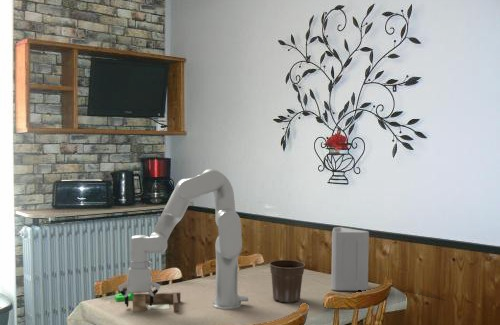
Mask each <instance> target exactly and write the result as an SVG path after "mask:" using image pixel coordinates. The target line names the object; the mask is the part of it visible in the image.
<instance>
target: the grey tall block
mask: <svg viewBox="0 0 500 325" xmlns="http://www.w3.org/2000/svg"><path fill="white" fill-rule="evenodd" d="M369 242H370V231H367V230H361V229H356V228H355V229H354V228H348V227H341V226H338V227H337V226H336V227H333V229H332V231H331V282H330V283H331V285H330V288H331V290H333V291H358V290H361V291H367V290H369V257H370V256H369V253H370V252H369V251H370V250H369V249H370V247H369V246H370V245H369V244H370V243H369Z"/></svg>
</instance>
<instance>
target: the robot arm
mask: <svg viewBox="0 0 500 325" xmlns="http://www.w3.org/2000/svg"><path fill="white" fill-rule="evenodd" d="M210 193H212V194H213V199H214V205H215V206H214V207H215V208H214V209H215V210H214V212H215V215H214V216H215V220H214V221H215V224H216V226H217V228H218V230H217V231H218V236H217V237H216V240H215V246H214V247H215V249H214V250H215V300H213V301H212V302H211V306H212V307H213V308H215V309H220V310H235V309H238V308H240V307H241V306H242V302H249V296H244V295H242V296H241V295H239V294H238V290H239V289H238V282H239V281H238V279H239V272H238V271H239V255H240V254H241V253H242V249H243V240H242V239H243V238H242V234H243V233H242V223H241V222H242V221H241V217H240V216H239V214H238V213H237V212H236V204H235V194H234V193H235V192H234V189H233V185H232V183H231V182H230V180H229V179H228V177H227V176H226V175H225V174H223V173H222V172H220V171H219V170H217V169H214V168H207V169H205V170H204V171H203V172H202V173H200V174H198V175H196V176H193V177H190V178H182V179H180V180H179V181H178V182H177V183H176V185H175V187H174V190H173V191H172V193H171V195H170V197H169V199H168V201H167V203H166V205H165V207H164V208H163V210H162V213H161V215H160V217H159V218H158V220H157V222H156V224H155V226H154V228H153V230H152V232H151V234H150V236H148V235H144V234H135V235H132V236H131V237H130V242H129V243H130V245H129V246H130V248H129V250H130V251H129V252H130V254H129V255H130V256H129V257H130V258H129V260H130V262H129V263H130V267H128V268H127V275H126V281H125V282H123V283H122V284H119V285H118V287H117V289H118V290H119V294H122V295H123V296H124V297H125V301H124V305H126V308H128V307H129V301H130V300H129V296H128V295H129V294H130V293H141V292H146V293H149V294H150V303H149V305H150V306H152V305H153V304H154V303H153V296H154V295H155V294H156V293H159V292H158V291H159V290H160V288H161V284H160V283H157V282H155V281H153V280H152V269H151V267H150V266H153V262H152V261H150V259H149V258H150V257H149V256H150V255H149V254H156V255H157V254H158V255H159V254H163V253H164V252H166V250H167V249H168V240H169V238H170V236H171V233H172V232H173V230H174V228H175V227H176V225H177V224H178V223H179V222H180V221H182V219H183V217H184V216H185V214H186V211H187V210H188V207H189V206H190V203H191V201H192V200H194V199H197V198H200V197H202V196H204V195H208V194H210ZM125 287H126V290H124V288H125ZM152 287H155V289H152Z"/></svg>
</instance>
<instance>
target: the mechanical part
mask: <svg viewBox="0 0 500 325" xmlns="http://www.w3.org/2000/svg"><path fill="white" fill-rule="evenodd" d="M128 296H129V301H133V293H130V294H129V295H128ZM114 300H115V301H116V302H125V297H124V296H123V295H122V294H121V293H116V294H115V295H114Z"/></svg>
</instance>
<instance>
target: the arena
mask: <svg viewBox="0 0 500 325" xmlns="http://www.w3.org/2000/svg"><path fill="white" fill-rule="evenodd" d="M168 303H169V304H168ZM170 303H172V305H173V312H174V313H178V312H179V310H178V308H179V303H181V292H179V291H177V292H157V293H156V294H155V295H154V296H153V303H152V306H150V294H149V293H148V292H146V293H145V304H148V305H147V310H151V311H152V310H153V311H154V310H170Z"/></svg>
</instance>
